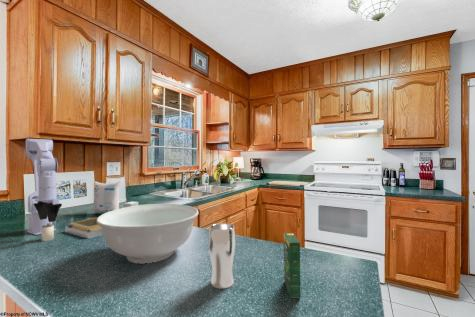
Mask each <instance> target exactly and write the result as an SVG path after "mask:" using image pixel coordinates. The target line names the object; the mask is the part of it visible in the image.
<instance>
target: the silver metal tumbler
mask: <svg viewBox="0 0 475 317" xmlns="http://www.w3.org/2000/svg"><path fill="white" fill-rule="evenodd" d="M208 249H209V257H210V262H211V270H212V271H211V279H210V285H211V287H213V288H215V289H219V290H222V289H223V290H225V289H228V288H230V287H232V286H233V285H234V282H235V280H234V275H233V266H234V265H233V262H234V258H235V257H234V256H235V251H236V234H235V225H234V224H231V223H225V222H223V223H222V222H220V223H219V222H217V223H214V224H211V225H209V234H208Z"/></svg>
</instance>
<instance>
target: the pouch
mask: <svg viewBox="0 0 475 317" xmlns="http://www.w3.org/2000/svg"><path fill="white" fill-rule="evenodd" d="M120 183H121V182H120V181H117V182H113V183H111V182H110V183H105V182H98V181H96V180H94V181H93V208H92V210H93V211H92V213H93V214H97V213H107V212H109V211H112V210H116V209H120V185H121V184H120Z"/></svg>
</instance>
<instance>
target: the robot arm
mask: <svg viewBox="0 0 475 317" xmlns="http://www.w3.org/2000/svg"><path fill="white" fill-rule="evenodd" d="M53 150H54V141H53V140H52V139H51V138H50V139H47V138H46V139H45V138H43V139H40V138H26V139H25V155H26V158H28V159H29V160H31V162H32V164H33V176H34V190H35V191H34V192H32V193H30V194H29V195H28V197H27V211H28V212H27V213H30V216H29V217H28V221H29V224H28V228H29V229H28V230H26V233H30V234H31V235H42V228H41V227H42V226H44V225H47V224H48V223H51V224H53V222H56V221H57V217H58V214H59V210H60V209H61V207H62V206H63V205H62V203H60V199H59V198H58V197H57V172H58V169H59V168H58V167H59V165H58V164H59V163H58V159H57V158H56V157H54V156H53ZM55 231H57V228H54V232H55Z"/></svg>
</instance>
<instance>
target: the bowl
mask: <svg viewBox="0 0 475 317" xmlns="http://www.w3.org/2000/svg"><path fill="white" fill-rule="evenodd" d="M198 216H199V210H198V209H197V208H195V207H193V206H190V205H186V204H179V203H178V204H177V203H149V204H148V203H147V204H138V205H137V206H130V207H125V208H123V207H121V208H120V207H119V209H116V210H112V211H109V212H103V214H101V215H99V216H98V218H97V224H98V225H99V226H100V227H101V228H102V231H103V234H102V235H103V238H104V240H105V243H106V245H107V246H108V247H109V248H110V249H111V250H112V251H113V252H115V253H116V254H118V255H122V256H125V257H126V258H127V260H128V262H130V263H134V264H138V263H139V265H140V264H141V265H144V264H145V263H147V264H153V263H152V262H154V263H158V262H162V261H165V260H166V259H168V258H170V257H171V256H172V255H173V254H174V252H175V250H177V249H178V248H180V247H181V246H183V245H184V244H185V243H186V242H187V241H188V240H189V238H190V236H191V234H192V231H193V227H194V223H195V219H196V218H197V217H198ZM161 260H162V261H161ZM157 261H158V262H157Z"/></svg>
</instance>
